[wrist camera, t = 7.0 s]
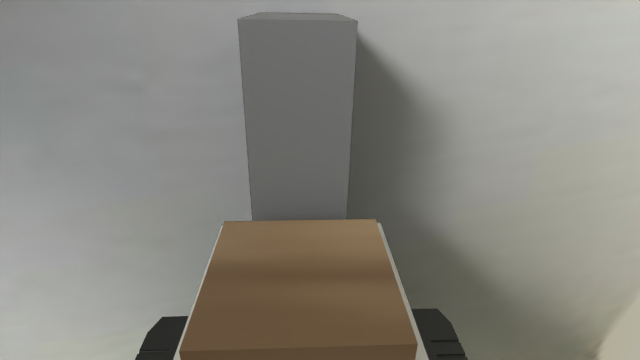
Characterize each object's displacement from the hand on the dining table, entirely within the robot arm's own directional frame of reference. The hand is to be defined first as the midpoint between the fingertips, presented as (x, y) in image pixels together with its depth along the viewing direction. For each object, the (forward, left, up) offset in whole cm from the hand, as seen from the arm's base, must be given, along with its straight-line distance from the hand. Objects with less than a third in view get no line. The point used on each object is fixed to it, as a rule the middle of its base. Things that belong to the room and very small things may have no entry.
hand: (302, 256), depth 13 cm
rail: (0, 0, -4) cm, 4 cm away
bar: (+3, 0, +2) cm, 4 cm away
